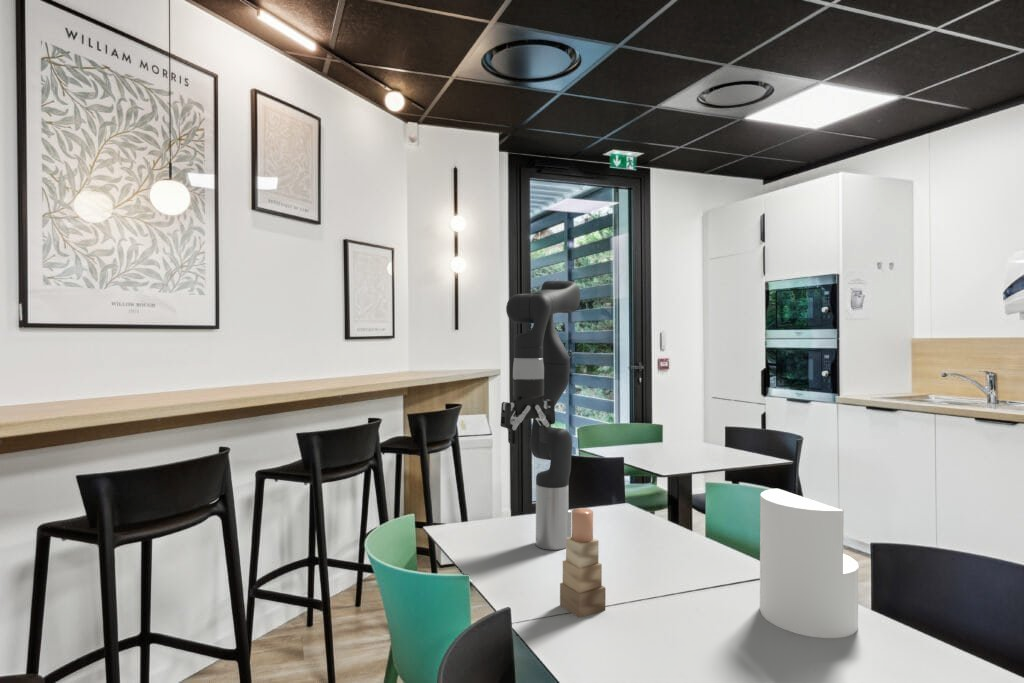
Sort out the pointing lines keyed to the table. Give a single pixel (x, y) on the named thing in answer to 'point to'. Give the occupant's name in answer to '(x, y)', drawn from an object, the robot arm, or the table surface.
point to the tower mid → (582, 577)
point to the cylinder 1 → (582, 525)
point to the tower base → (582, 600)
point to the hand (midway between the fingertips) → (528, 443)
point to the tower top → (581, 552)
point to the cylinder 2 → (806, 567)
